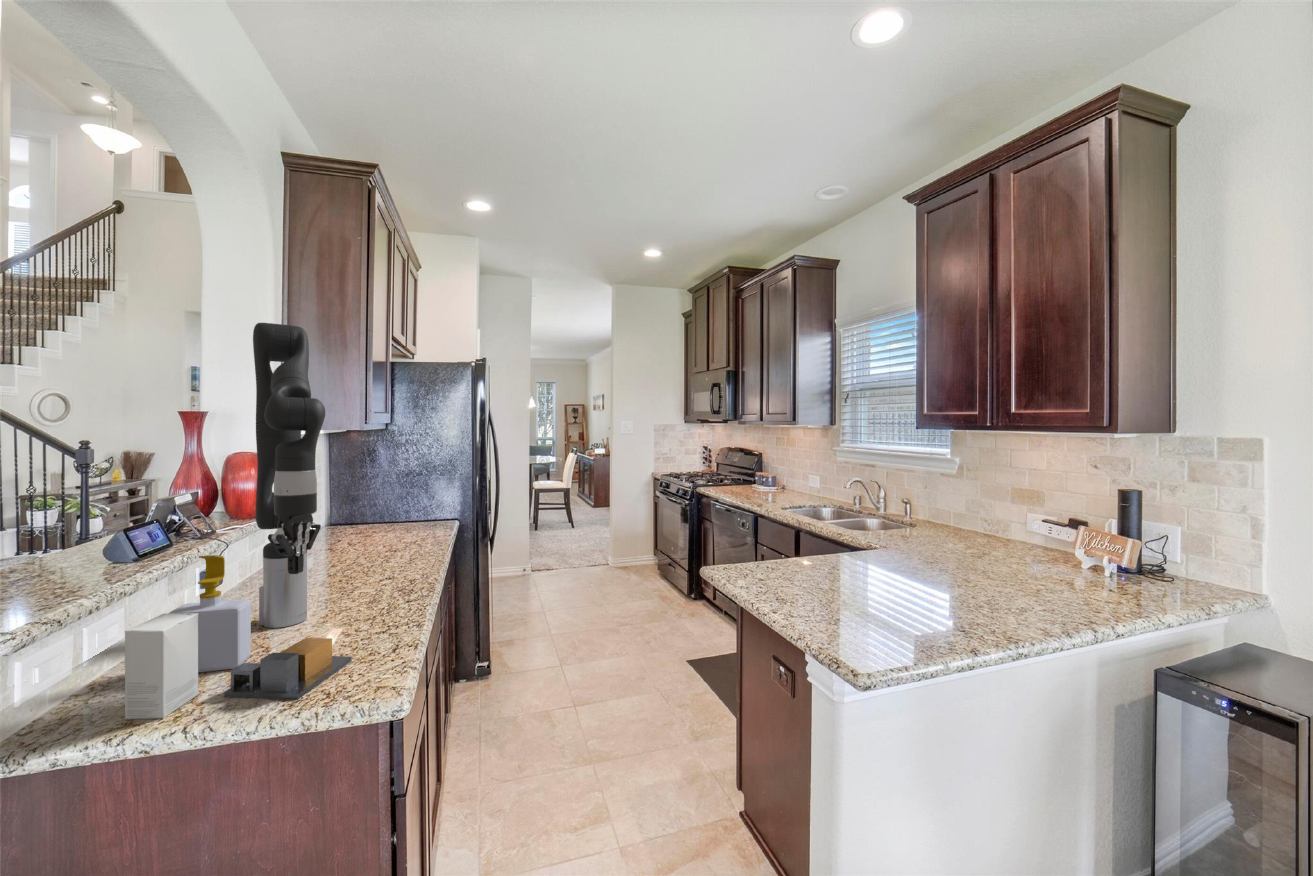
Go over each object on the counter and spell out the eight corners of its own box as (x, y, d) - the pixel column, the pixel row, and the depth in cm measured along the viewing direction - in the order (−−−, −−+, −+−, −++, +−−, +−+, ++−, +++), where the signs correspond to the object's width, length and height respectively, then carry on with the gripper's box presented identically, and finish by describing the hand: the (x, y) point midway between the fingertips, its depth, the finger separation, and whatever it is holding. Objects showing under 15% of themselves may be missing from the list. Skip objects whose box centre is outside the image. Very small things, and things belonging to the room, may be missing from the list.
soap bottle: (165, 677, 105) (164, 560, 104) (183, 662, 111) (183, 552, 111) (238, 669, 109) (238, 556, 108) (252, 656, 115) (251, 549, 115)
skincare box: (164, 696, 98) (163, 612, 97) (202, 695, 98) (201, 611, 98) (122, 721, 89) (121, 629, 89) (164, 719, 90) (163, 628, 90)
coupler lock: (276, 679, 102) (276, 654, 102) (306, 661, 110) (306, 637, 110) (305, 680, 102) (305, 654, 102) (332, 662, 110) (332, 638, 110)
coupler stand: (224, 697, 97) (224, 659, 97) (287, 659, 113) (287, 627, 113) (298, 699, 97) (297, 661, 97) (351, 661, 113) (351, 628, 113)
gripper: (290, 495, 105) (290, 582, 105) (333, 488, 118) (333, 565, 118) (253, 495, 105) (253, 581, 106) (300, 487, 118) (300, 564, 119)
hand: (295, 573), depth 112 cm, fingers closed
